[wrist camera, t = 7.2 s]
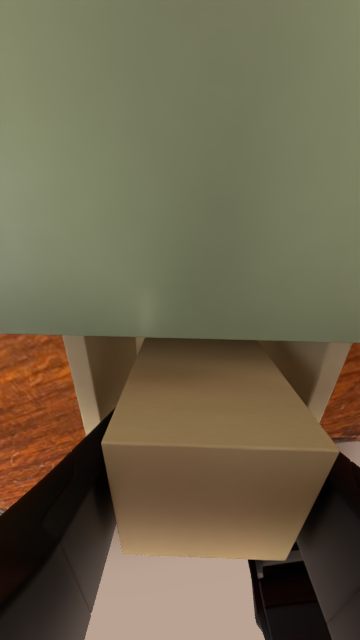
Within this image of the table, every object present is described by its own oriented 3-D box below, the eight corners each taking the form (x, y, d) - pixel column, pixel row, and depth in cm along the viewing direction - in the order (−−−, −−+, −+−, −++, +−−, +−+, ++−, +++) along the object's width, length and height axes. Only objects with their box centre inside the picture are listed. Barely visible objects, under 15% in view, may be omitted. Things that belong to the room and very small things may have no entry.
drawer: (247, 423, 18) (288, 539, 11) (129, 419, 18) (94, 533, 11) (291, 213, 12) (466, 164, 4) (106, 209, 12) (-16, 157, 5)
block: (240, 419, 10) (286, 561, 6) (149, 417, 10) (122, 555, 6) (256, 338, 9) (341, 451, 4) (145, 335, 9) (99, 443, 4)
